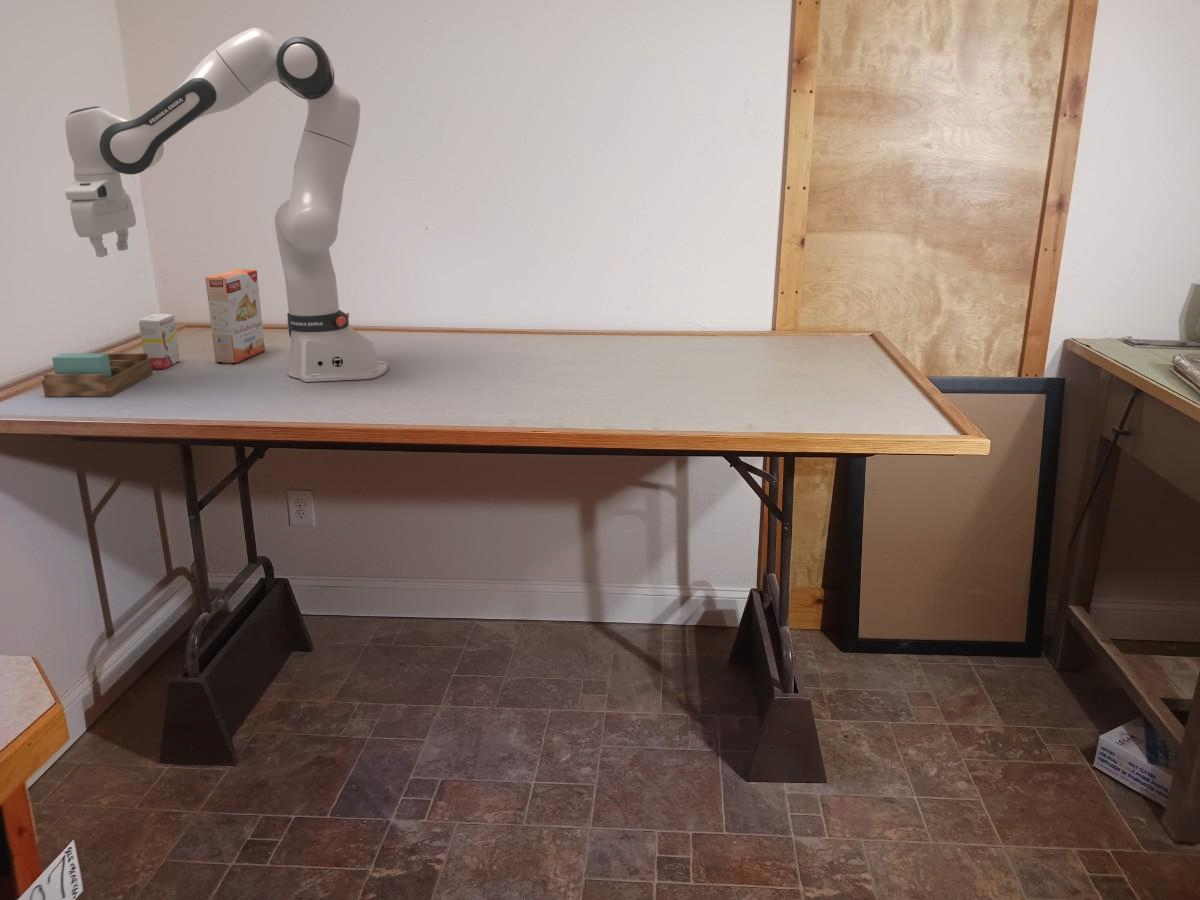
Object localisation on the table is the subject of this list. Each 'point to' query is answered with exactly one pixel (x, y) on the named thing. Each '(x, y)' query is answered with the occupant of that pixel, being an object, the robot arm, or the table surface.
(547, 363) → the table surface
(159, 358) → the ink box
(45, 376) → the rack
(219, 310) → the cracker box
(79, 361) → the teal block
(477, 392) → the table surface
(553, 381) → the table surface
